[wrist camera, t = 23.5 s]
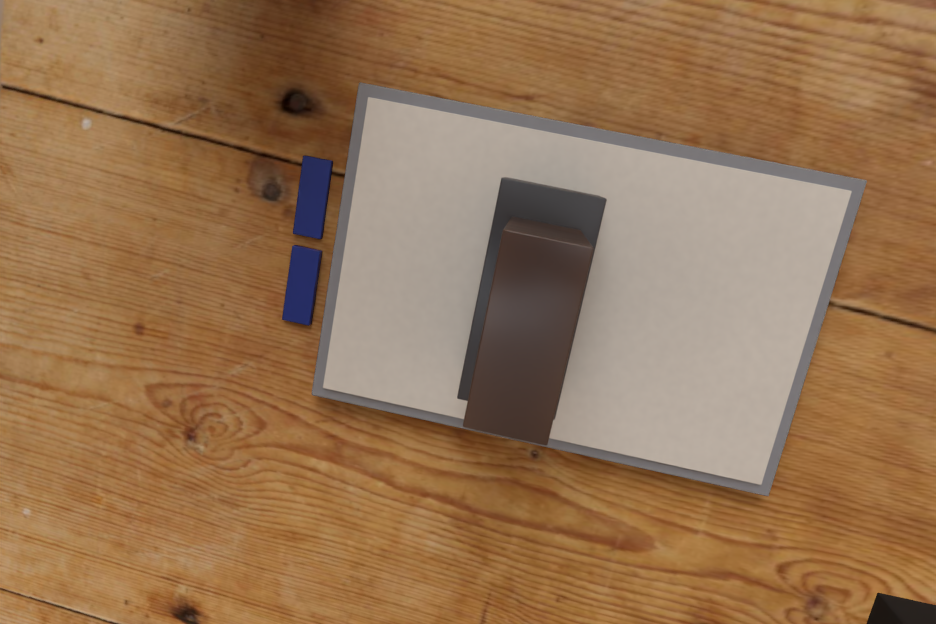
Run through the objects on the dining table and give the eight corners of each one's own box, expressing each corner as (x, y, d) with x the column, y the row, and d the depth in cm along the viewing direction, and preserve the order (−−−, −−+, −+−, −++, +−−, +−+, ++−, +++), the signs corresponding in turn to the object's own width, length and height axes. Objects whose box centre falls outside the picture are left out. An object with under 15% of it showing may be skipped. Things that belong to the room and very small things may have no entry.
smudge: (320, 251, 35) (322, 250, 36) (292, 245, 36) (294, 244, 36) (309, 325, 36) (311, 324, 37) (281, 319, 36) (284, 318, 37)
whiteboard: (317, 389, 37) (309, 396, 36) (363, 84, 34) (357, 81, 33) (762, 488, 36) (769, 498, 35) (857, 180, 32) (869, 180, 31)
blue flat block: (331, 160, 35) (334, 161, 35) (303, 155, 35) (305, 155, 35) (320, 239, 35) (323, 238, 36) (292, 233, 36) (295, 233, 36)
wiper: (465, 374, 35) (433, 462, 24) (505, 176, 33) (489, 178, 22) (553, 393, 35) (559, 490, 24) (599, 195, 33) (628, 206, 22)
